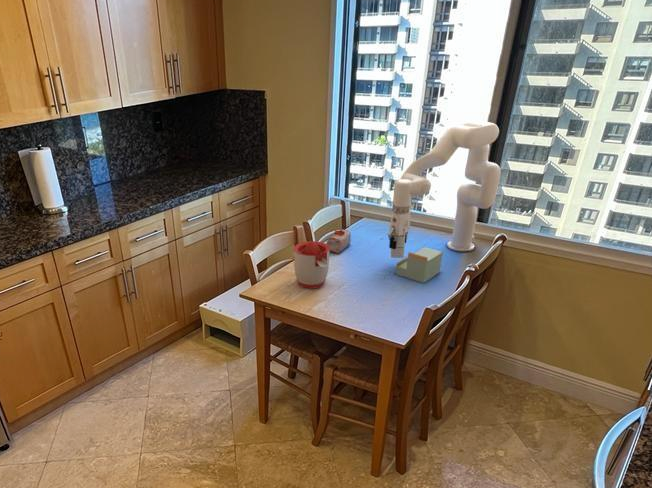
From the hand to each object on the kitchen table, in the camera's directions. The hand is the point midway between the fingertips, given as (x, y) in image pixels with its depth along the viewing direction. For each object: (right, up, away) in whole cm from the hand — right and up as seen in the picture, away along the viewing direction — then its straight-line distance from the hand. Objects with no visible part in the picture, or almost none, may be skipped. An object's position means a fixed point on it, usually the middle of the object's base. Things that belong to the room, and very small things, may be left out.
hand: (397, 245), depth 235 cm
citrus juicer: (-40, -19, -6) cm, 45 cm away
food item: (-23, +2, +26) cm, 34 cm away
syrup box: (0, -4, +3) cm, 5 cm away
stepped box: (+8, -13, -2) cm, 16 cm away
